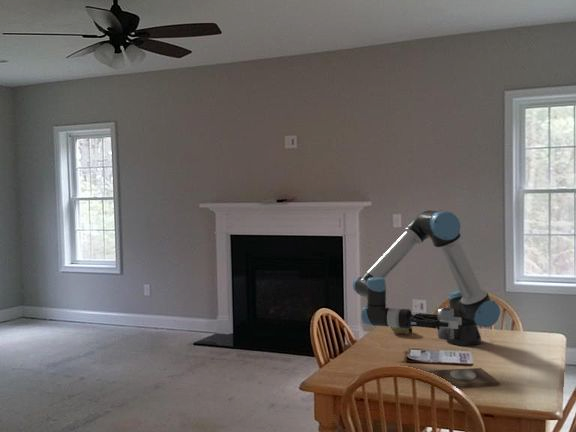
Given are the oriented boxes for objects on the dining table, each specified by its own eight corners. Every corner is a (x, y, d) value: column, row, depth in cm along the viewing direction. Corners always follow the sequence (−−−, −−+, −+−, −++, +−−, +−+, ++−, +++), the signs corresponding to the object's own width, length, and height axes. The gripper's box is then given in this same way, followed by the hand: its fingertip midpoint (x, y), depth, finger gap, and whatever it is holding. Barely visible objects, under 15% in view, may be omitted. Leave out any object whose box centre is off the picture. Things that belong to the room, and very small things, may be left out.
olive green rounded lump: (402, 343, 264) (419, 328, 262) (385, 325, 264) (401, 310, 262) (399, 337, 273) (415, 323, 272) (383, 319, 273) (399, 305, 272)
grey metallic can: (451, 335, 215) (450, 306, 215) (456, 339, 209) (455, 309, 209) (435, 335, 215) (435, 306, 215) (440, 339, 209) (440, 310, 209)
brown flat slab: (480, 371, 209) (480, 365, 209) (499, 385, 193) (499, 379, 193) (429, 373, 208) (429, 368, 208) (443, 388, 192) (443, 382, 192)
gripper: (406, 322, 229) (464, 327, 218) (393, 333, 212) (454, 339, 201) (406, 304, 229) (464, 308, 218) (392, 313, 212) (454, 318, 201)
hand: (459, 323), depth 209 cm, fingers closed on grey metallic can, 6 cm apart
